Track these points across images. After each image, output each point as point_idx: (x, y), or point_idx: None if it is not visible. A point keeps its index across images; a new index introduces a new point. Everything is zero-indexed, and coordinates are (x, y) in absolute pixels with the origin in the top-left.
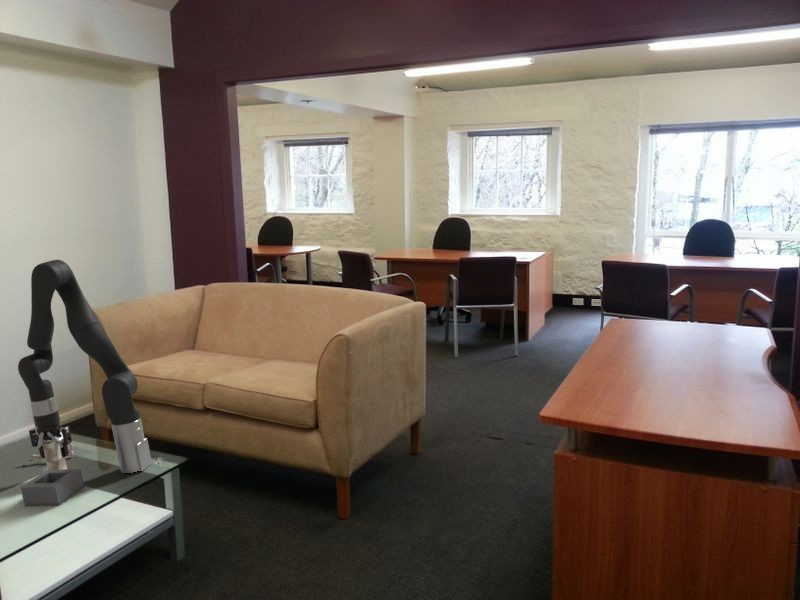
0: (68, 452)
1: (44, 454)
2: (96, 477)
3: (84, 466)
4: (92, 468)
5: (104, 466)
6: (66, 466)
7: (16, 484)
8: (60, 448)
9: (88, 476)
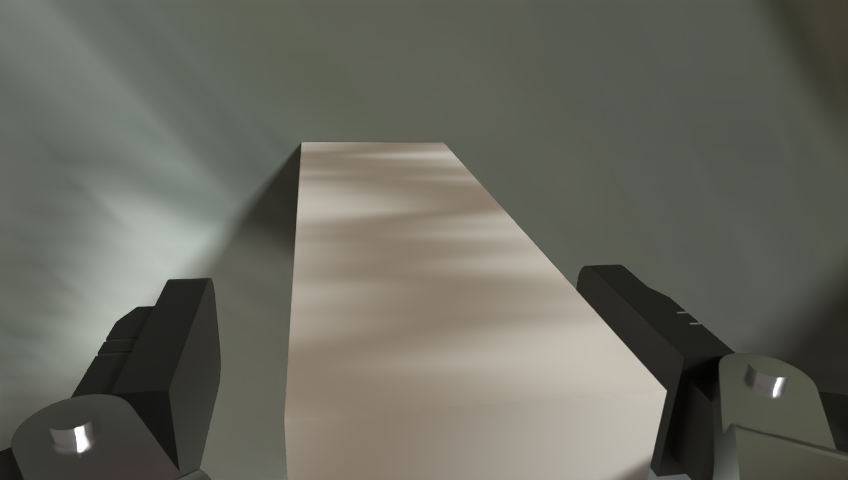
0: (671, 302)
1: (206, 372)
2: (831, 283)
3: (580, 2)
4: (711, 75)
5: (832, 32)
6: (458, 163)
7: (13, 424)
8: (658, 466)
9: (747, 263)
